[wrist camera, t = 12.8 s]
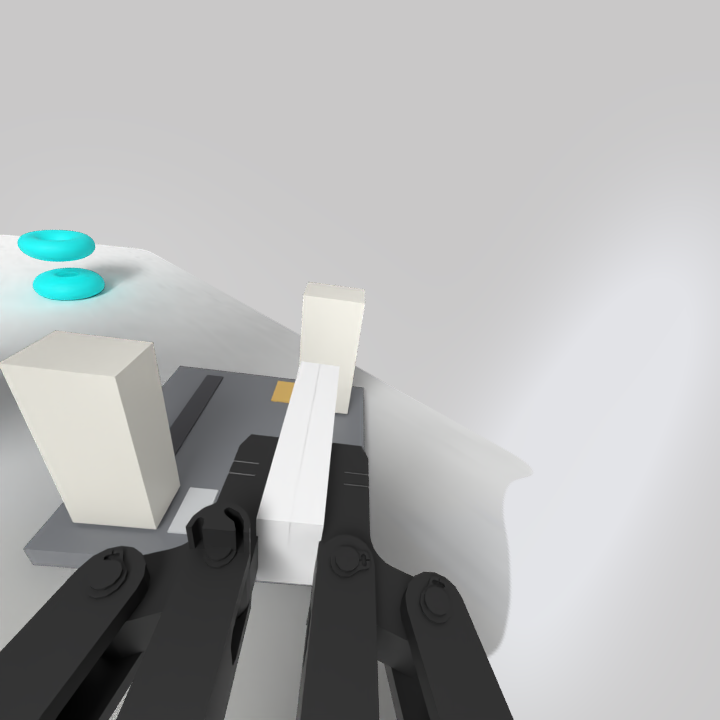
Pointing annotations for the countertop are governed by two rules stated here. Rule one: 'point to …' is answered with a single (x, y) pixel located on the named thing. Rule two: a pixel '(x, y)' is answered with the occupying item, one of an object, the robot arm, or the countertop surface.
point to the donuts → (60, 249)
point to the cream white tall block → (332, 332)
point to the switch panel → (193, 459)
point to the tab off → (98, 425)
